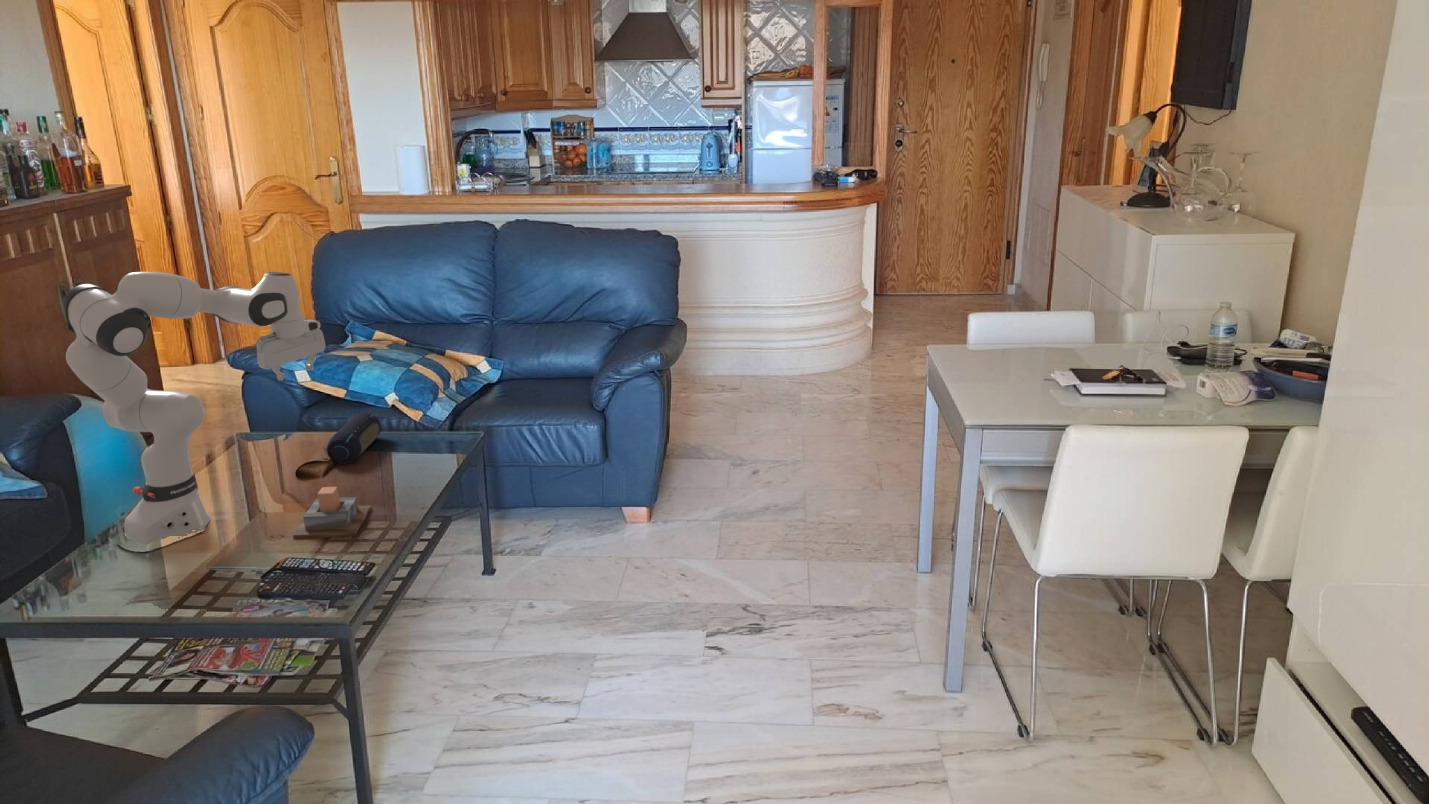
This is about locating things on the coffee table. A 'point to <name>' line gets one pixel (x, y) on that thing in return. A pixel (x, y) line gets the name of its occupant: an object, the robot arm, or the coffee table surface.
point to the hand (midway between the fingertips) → (296, 374)
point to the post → (329, 499)
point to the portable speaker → (353, 438)
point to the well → (333, 520)
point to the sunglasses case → (315, 465)
